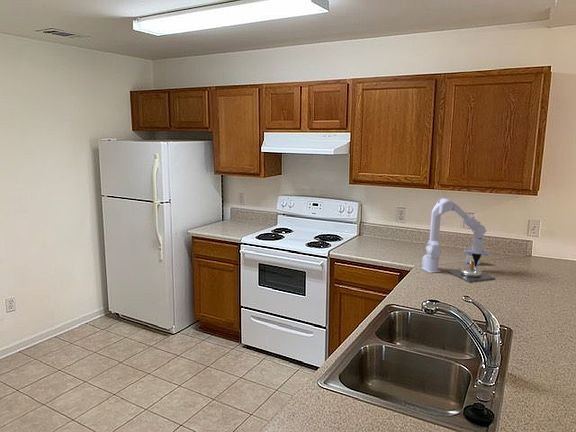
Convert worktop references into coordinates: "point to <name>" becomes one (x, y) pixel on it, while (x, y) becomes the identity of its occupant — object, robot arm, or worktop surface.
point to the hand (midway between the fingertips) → (475, 266)
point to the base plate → (471, 279)
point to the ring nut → (471, 270)
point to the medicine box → (471, 259)
